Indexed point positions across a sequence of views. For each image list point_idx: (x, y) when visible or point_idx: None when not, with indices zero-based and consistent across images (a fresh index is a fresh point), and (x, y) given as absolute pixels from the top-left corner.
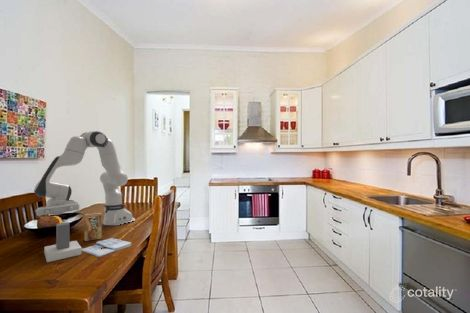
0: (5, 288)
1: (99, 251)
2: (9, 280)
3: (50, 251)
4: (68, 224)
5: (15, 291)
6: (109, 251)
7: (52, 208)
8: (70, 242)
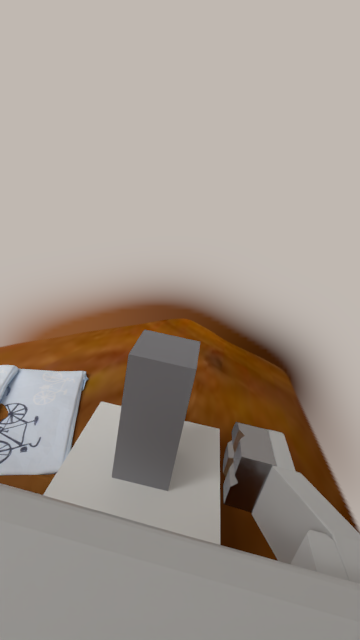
0: (295, 395)
1: (54, 390)
2: (299, 419)
3: (203, 452)
4: (149, 332)
5: (273, 376)
6: (40, 371)
7: (206, 547)
8: (79, 502)
